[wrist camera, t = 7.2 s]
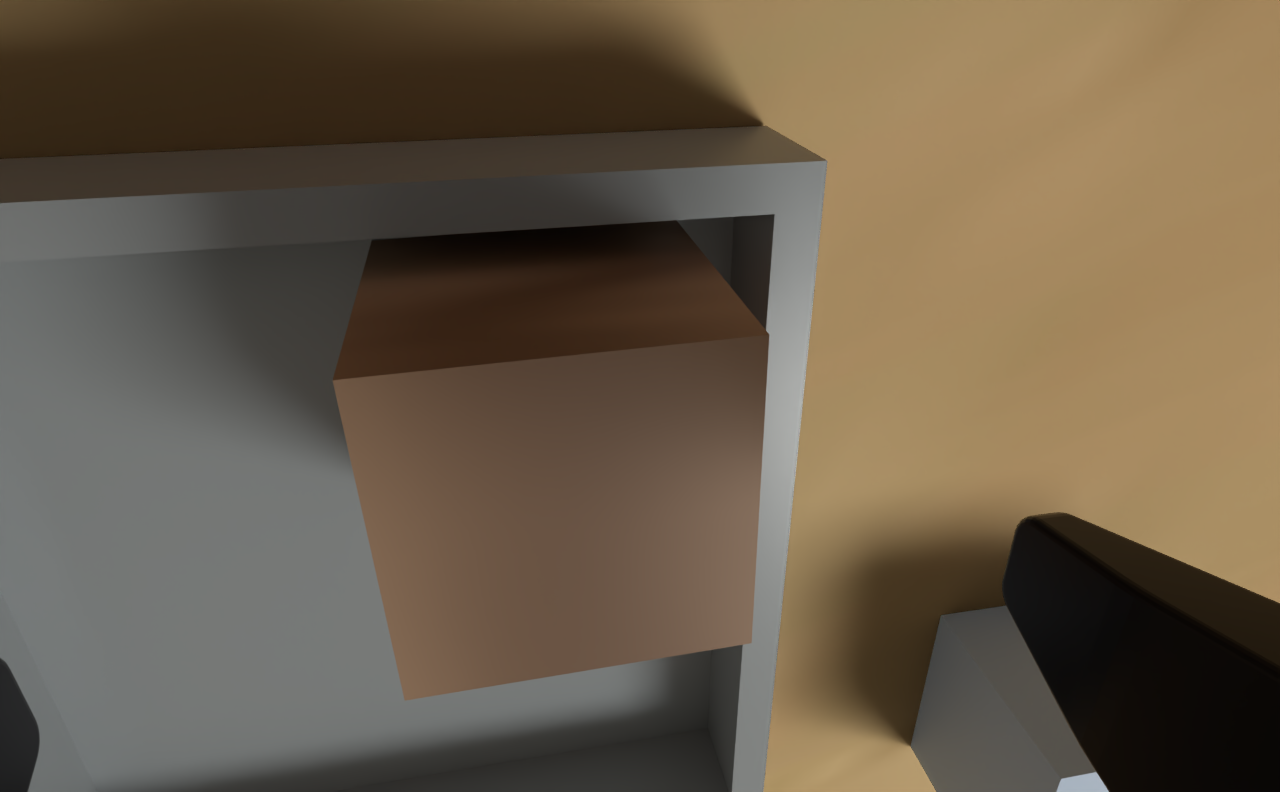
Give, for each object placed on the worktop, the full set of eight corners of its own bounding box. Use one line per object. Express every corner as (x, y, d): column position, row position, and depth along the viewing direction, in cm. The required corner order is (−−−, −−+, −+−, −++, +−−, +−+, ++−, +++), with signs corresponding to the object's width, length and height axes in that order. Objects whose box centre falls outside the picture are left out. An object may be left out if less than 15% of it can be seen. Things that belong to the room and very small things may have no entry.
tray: (766, 126, 12) (827, 160, 10) (727, 719, 17) (760, 814, 15) (-225, 167, 10) (-391, 222, 8) (101, 824, 15) (50, 949, 13)
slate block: (1109, 587, 18) (1265, 739, 14) (1063, 716, 20) (1193, 878, 16) (938, 612, 17) (1061, 778, 14) (909, 743, 19) (1009, 918, 16)
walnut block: (673, 216, 11) (769, 334, 8) (673, 462, 13) (751, 642, 10) (371, 240, 11) (332, 381, 7) (417, 494, 13) (403, 700, 9)
